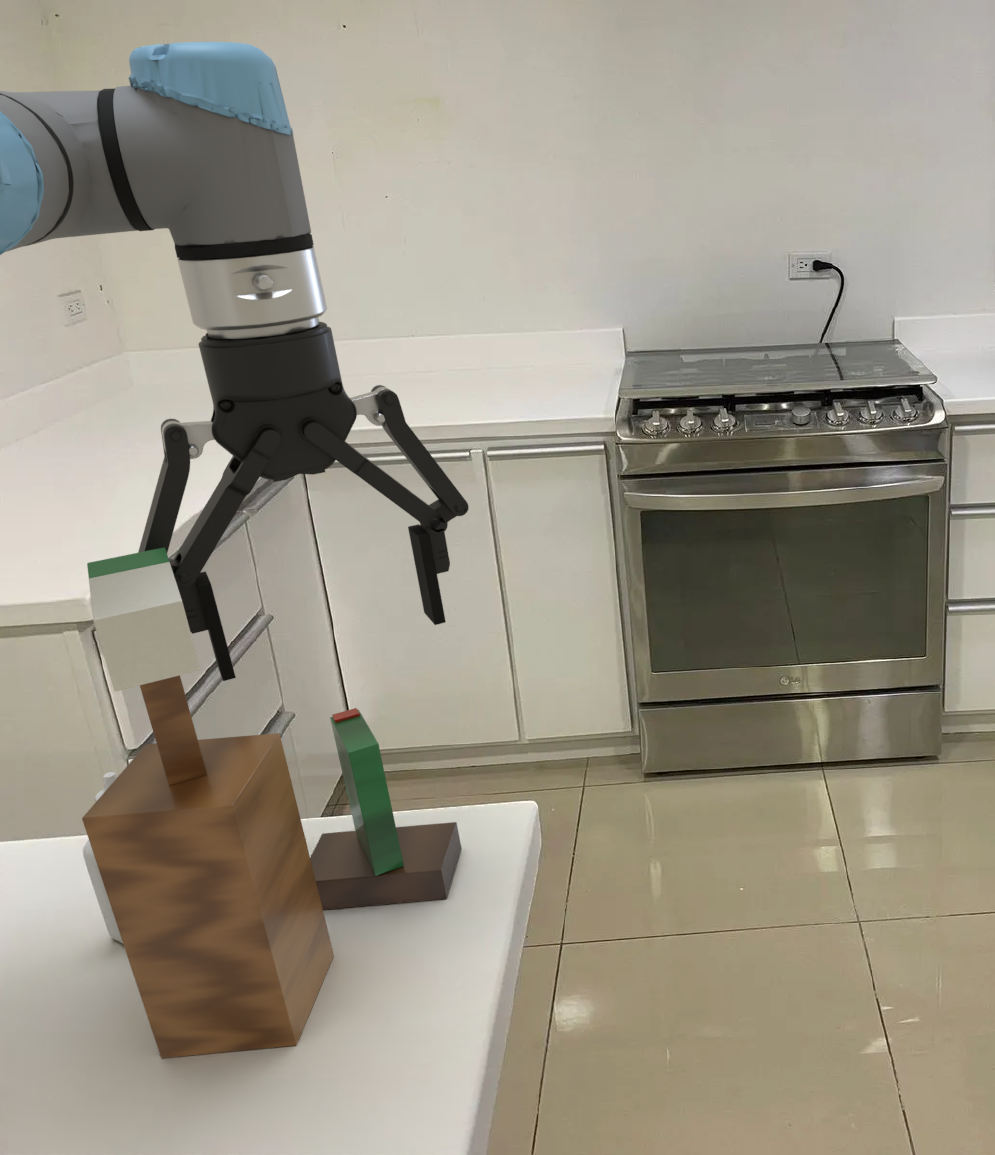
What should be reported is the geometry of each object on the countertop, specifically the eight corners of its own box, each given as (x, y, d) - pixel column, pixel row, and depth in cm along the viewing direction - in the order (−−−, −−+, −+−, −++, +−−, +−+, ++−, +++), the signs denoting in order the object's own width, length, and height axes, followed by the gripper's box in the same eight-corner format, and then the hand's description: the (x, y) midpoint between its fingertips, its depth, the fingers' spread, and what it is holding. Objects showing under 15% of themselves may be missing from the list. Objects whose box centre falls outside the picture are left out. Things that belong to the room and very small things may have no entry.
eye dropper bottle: (110, 918, 80) (61, 773, 76) (196, 890, 83) (154, 748, 78) (111, 953, 77) (60, 803, 72) (201, 923, 79) (157, 776, 75)
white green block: (200, 670, 59) (182, 600, 57) (114, 692, 57) (93, 620, 56) (181, 609, 67) (164, 546, 65) (105, 627, 65) (86, 562, 64)
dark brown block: (304, 911, 80) (296, 882, 79) (328, 860, 85) (321, 833, 84) (446, 899, 80) (441, 870, 79) (461, 849, 86) (456, 821, 85)
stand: (160, 1058, 67) (37, 686, 58) (212, 966, 75) (110, 623, 65) (296, 1045, 68) (196, 674, 58) (334, 955, 75) (250, 613, 66)
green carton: (404, 866, 80) (378, 740, 76) (375, 876, 79) (347, 749, 75) (383, 826, 85) (357, 706, 81) (356, 835, 84) (329, 714, 80)
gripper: (23, 366, 59) (132, 721, 67) (483, 305, 71) (530, 613, 79) (24, 348, 65) (124, 675, 73) (448, 294, 77) (495, 582, 85)
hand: (335, 644), depth 76 cm, fingers open, 13 cm apart
